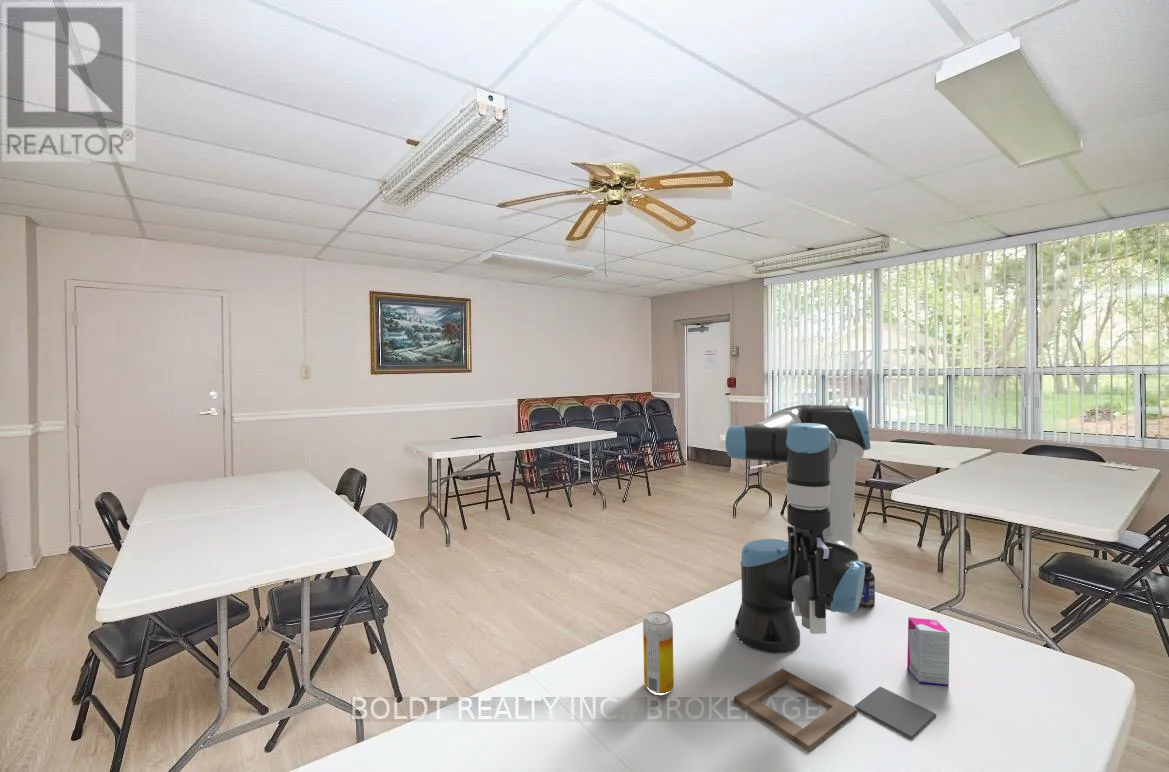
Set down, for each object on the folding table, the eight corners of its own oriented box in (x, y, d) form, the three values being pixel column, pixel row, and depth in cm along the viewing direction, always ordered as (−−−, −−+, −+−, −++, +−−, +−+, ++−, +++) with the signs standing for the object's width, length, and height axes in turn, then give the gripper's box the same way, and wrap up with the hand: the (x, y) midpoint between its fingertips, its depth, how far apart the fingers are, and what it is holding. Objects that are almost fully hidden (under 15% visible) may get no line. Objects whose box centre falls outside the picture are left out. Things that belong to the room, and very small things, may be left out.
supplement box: (950, 687, 102) (950, 632, 102) (918, 684, 104) (918, 630, 103) (936, 670, 108) (936, 618, 108) (906, 668, 109) (906, 616, 109)
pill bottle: (874, 610, 135) (874, 569, 135) (848, 604, 138) (848, 565, 138) (875, 600, 140) (875, 562, 140) (851, 595, 144) (850, 558, 143)
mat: (854, 708, 97) (854, 705, 97) (879, 689, 102) (879, 686, 102) (911, 739, 88) (911, 736, 88) (935, 716, 94) (935, 713, 94)
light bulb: (833, 631, 95) (833, 579, 95) (811, 639, 92) (810, 585, 92) (807, 617, 100) (806, 568, 100) (785, 624, 98) (784, 574, 98)
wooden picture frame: (733, 701, 99) (733, 696, 99) (782, 672, 108) (782, 668, 108) (809, 751, 86) (809, 745, 86) (857, 713, 95) (857, 708, 95)
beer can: (676, 683, 106) (675, 613, 105) (669, 700, 100) (668, 627, 100) (649, 676, 108) (648, 608, 108) (640, 693, 103) (639, 621, 102)
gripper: (855, 518, 86) (856, 650, 87) (804, 492, 105) (805, 600, 106) (813, 520, 86) (814, 651, 87) (769, 493, 105) (770, 601, 106)
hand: (809, 623), depth 96 cm, fingers closed on light bulb, 6 cm apart
